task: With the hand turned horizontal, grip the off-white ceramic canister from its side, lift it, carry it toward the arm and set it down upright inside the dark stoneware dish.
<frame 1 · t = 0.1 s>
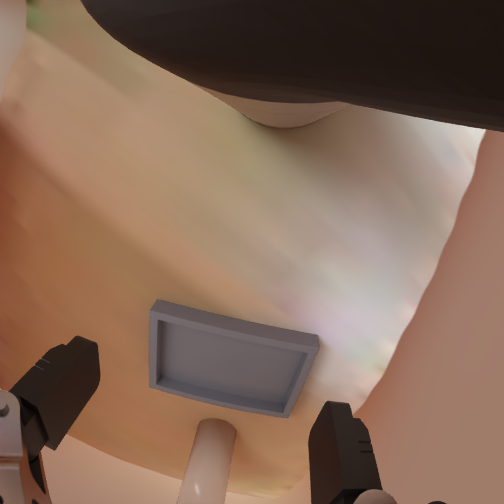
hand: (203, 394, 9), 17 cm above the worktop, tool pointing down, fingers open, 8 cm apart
dish: (228, 360, 31), on the worktop
canister: (216, 429, 35), on the worktop
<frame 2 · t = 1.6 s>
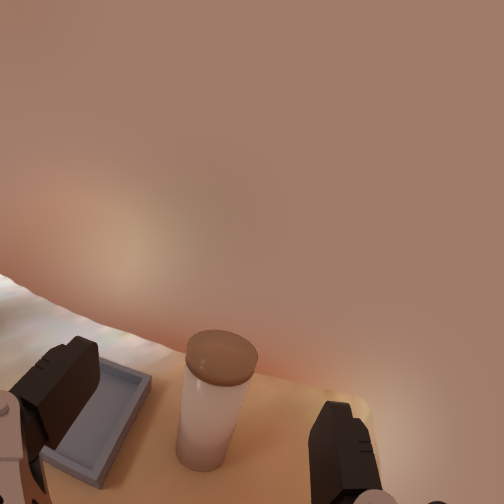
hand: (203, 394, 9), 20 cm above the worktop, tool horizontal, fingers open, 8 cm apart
dish: (83, 414, 26), on the worktop
canister: (200, 452, 26), on the worktop
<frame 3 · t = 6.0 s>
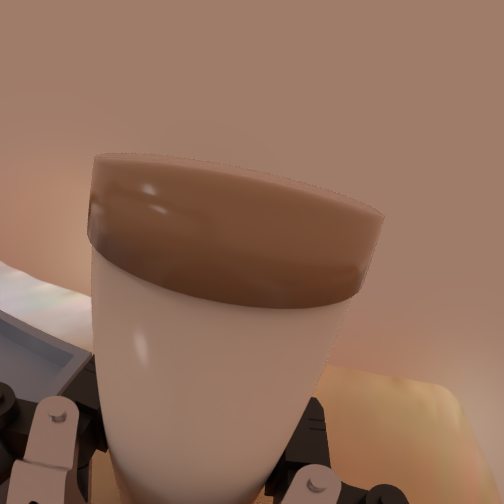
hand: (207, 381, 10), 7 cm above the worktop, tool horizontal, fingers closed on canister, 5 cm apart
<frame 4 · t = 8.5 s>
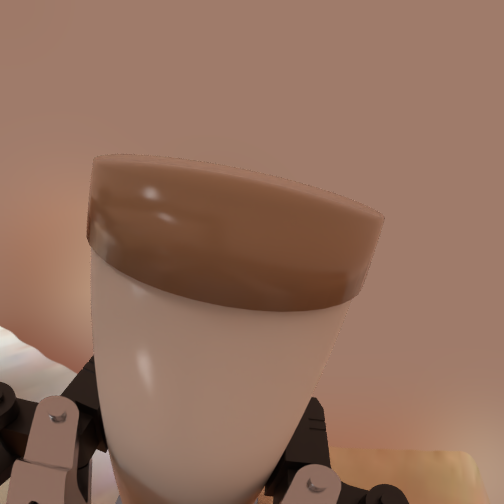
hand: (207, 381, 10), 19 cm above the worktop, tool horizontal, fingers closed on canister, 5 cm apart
when the fingers open (9 cm above the worktop, at t = 10.8 s): canister drops 1 cm, resting on dish.
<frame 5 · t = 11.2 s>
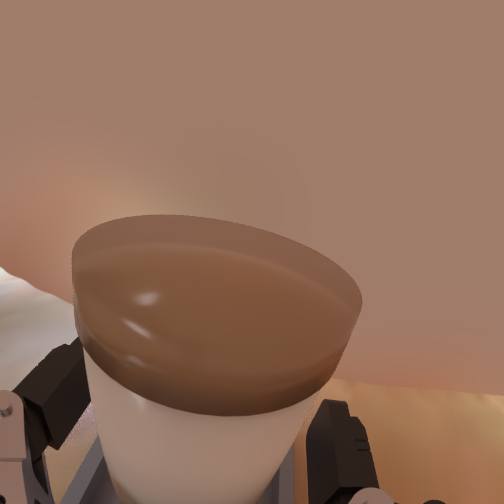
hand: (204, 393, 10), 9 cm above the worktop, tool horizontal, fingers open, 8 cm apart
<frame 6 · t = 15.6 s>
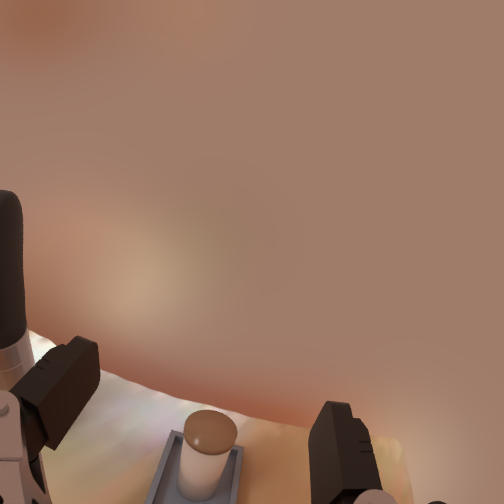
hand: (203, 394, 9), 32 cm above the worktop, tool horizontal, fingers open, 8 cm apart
dish: (195, 487, 31), on the worktop
canister: (196, 486, 31), point 1 cm above the worktop, touching dish
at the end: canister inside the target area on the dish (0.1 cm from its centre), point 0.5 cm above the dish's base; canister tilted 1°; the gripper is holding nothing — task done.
